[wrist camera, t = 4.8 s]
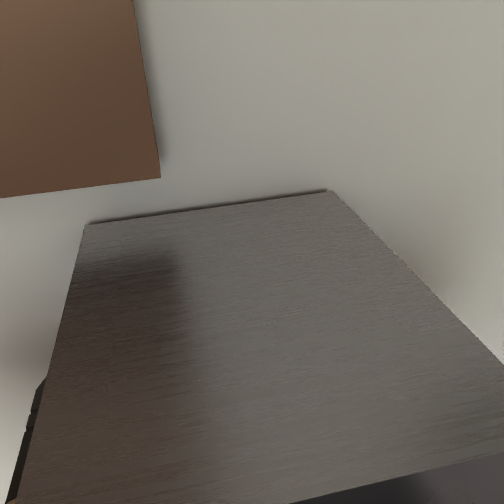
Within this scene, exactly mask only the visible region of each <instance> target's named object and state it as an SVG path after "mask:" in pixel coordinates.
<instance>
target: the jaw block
mask: <svg viewBox="0 0 504 504" xmlns="http://www.w3.org/2000/svg"><path fill="white" fill-rule="evenodd" d="M15 504H504V365H503V364H502V362H501V361H500V360H499V359H498V358H497V357H496V356H495V355H494V354H493V353H492V352H491V351H490V350H489V349H488V348H487V347H486V346H485V345H484V344H483V343H482V342H481V341H480V340H479V339H478V338H477V337H476V336H475V335H474V334H473V333H472V332H471V331H470V330H469V329H468V328H467V327H466V326H465V325H464V324H463V323H462V322H461V321H460V320H459V319H458V318H457V317H456V316H455V315H454V314H453V313H452V312H451V311H450V310H449V309H448V308H447V307H446V306H445V305H444V304H443V303H442V302H441V300H440V299H439V298H438V297H437V296H436V295H435V294H434V293H433V292H432V291H431V290H430V289H429V288H428V287H427V286H426V285H425V284H424V283H423V282H422V281H421V280H420V279H419V278H418V277H417V276H416V275H415V274H414V273H413V272H412V271H411V270H410V269H409V268H408V267H407V266H406V265H405V264H404V263H403V262H402V261H401V260H400V259H399V258H398V257H397V256H396V255H395V254H394V253H393V252H392V251H391V250H390V249H389V248H388V247H387V246H386V245H385V244H384V243H383V242H382V241H381V240H380V238H379V237H378V236H377V235H376V234H375V233H374V232H373V231H372V230H371V229H370V228H369V227H368V226H367V225H366V224H365V223H364V222H363V221H362V220H361V219H360V218H359V217H358V216H357V215H356V214H355V213H354V212H353V211H352V210H351V209H350V208H349V207H348V206H347V205H346V204H345V203H344V202H343V201H342V200H341V199H340V198H339V197H338V196H337V195H336V194H335V193H334V192H333V191H329V192H322V193H315V194H308V195H300V196H293V197H286V198H279V199H272V200H265V201H257V202H250V203H243V204H236V205H229V206H222V207H214V208H207V209H200V210H193V211H186V212H179V213H171V214H164V215H157V216H150V217H143V218H136V219H128V220H121V221H114V222H107V223H100V224H93V225H85V227H84V231H83V235H82V239H81V243H80V247H79V251H78V255H77V259H76V263H75V267H74V271H73V275H72V279H71V283H70V287H69V291H68V295H67V299H66V303H65V307H64V311H63V315H62V319H61V323H60V327H59V331H58V334H57V338H56V342H55V346H54V350H53V354H52V358H51V362H50V366H49V370H48V374H47V378H46V382H45V386H44V390H43V394H42V398H41V402H40V406H39V410H38V414H37V418H36V422H35V426H34V430H33V434H32V438H31V442H30V446H29V450H28V454H27V457H26V461H25V465H24V469H23V473H22V477H21V481H20V485H19V489H18V493H17V497H16V501H15Z"/></svg>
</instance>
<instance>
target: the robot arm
mask: <svg viewBox="0 0 504 504" xmlns="http://www.w3.org/2000/svg"><path fill="white" fill-rule="evenodd" d="M46 378H47V376H46ZM46 378H45V379H44V380H43V382H42V383H41V384H40V386H39V387H38V388H37V390H36V392H35V396H34V399H33V403H32V407H31V414H30V415H29V418H28V422H27V425H26V432H25V433H24V436H23V440H22V444H21V447H20V451H19V455H18V458H17V462H16V466H15V470H14V473H13V477H12V481H11V484H10V488H9V492H8V495H7V499H6V502H5V504H15V501H16V497H17V493H18V489H19V485H20V481H21V477H22V473H23V469H24V465H25V461H26V457H27V454H28V450H29V446H30V442H31V438H32V434H33V430H34V426H35V422H36V418H37V414H38V410H39V406H40V402H41V398H42V394H43V390H44V386H45V382H46Z"/></svg>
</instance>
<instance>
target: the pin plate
mask: <svg viewBox="0 0 504 504" xmlns="http://www.w3.org/2000/svg"><path fill="white" fill-rule="evenodd" d="M155 178H161V174H160V164H159V156H158V150H157V144H156V138H155V132H154V126H153V120H152V114H151V108H150V102H149V96H148V89H147V83H146V77H145V71H144V65H143V59H142V53H141V47H140V41H139V35H138V29H137V23H136V17H135V11H134V4H133V0H0V198H6V197H14V196H22V195H30V194H37V193H45V192H53V191H61V190H69V189H77V188H85V187H93V186H100V185H108V184H116V183H124V182H132V181H140V180H148V179H155Z"/></svg>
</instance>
